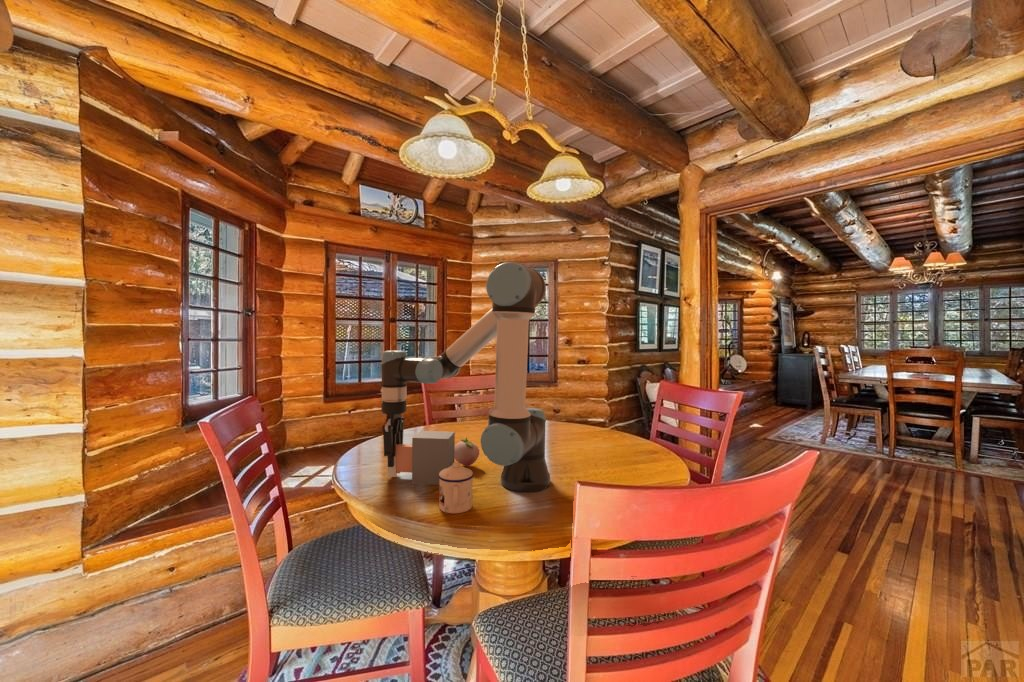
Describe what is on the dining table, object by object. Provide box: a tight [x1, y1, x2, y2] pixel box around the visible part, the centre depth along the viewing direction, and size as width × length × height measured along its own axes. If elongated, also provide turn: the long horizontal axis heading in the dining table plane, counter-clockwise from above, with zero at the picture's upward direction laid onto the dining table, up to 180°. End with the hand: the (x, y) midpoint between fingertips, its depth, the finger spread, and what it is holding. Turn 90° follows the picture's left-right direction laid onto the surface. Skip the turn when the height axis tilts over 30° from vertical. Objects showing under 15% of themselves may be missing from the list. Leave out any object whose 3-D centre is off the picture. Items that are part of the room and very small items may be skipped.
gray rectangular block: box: [411, 430, 456, 486], centre depth 129 cm, size 11×9×14 cm
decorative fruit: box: [454, 437, 480, 468], centre depth 141 cm, size 9×8×10 cm
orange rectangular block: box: [395, 443, 412, 474], centre depth 129 cm, size 16×2×8 cm, turn 86°
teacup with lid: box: [438, 461, 474, 514], centre depth 108 cm, size 12×9×12 cm
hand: (393, 474), depth 130 cm, fingers closed on orange rectangular block, 2 cm apart
